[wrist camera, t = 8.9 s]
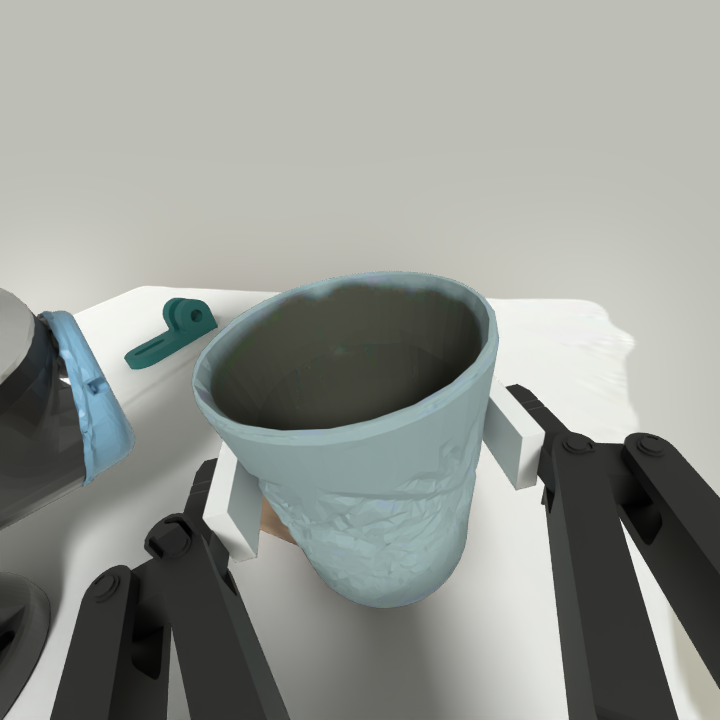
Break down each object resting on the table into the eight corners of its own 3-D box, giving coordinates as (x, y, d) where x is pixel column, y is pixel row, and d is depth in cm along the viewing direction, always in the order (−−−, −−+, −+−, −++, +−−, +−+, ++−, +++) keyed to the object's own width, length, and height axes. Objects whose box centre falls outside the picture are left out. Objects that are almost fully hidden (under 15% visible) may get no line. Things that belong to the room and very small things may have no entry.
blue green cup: (405, 425, 23) (382, 256, 17) (535, 543, 16) (583, 313, 9) (269, 504, 20) (176, 329, 14) (349, 707, 12) (218, 519, 6)
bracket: (200, 324, 78) (184, 292, 74) (218, 327, 74) (203, 294, 70) (124, 366, 66) (100, 332, 62) (141, 372, 62) (118, 336, 58)
